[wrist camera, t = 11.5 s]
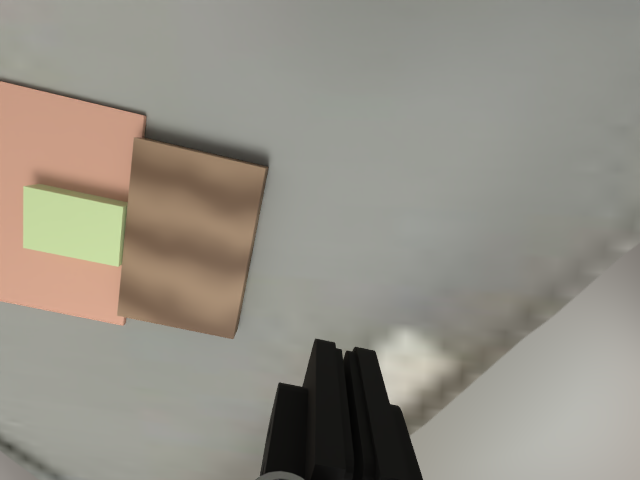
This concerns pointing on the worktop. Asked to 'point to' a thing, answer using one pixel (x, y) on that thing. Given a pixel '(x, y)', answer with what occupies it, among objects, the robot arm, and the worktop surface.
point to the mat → (67, 173)
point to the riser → (188, 237)
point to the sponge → (74, 224)
